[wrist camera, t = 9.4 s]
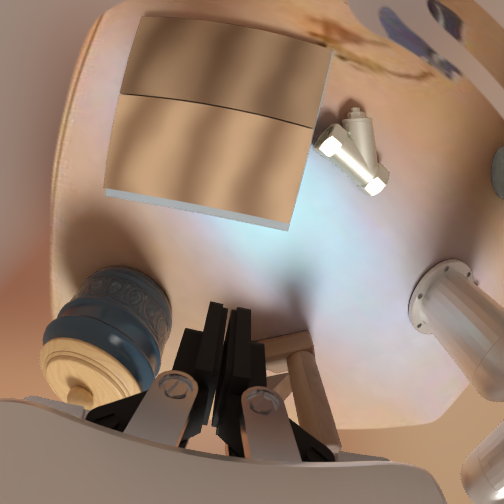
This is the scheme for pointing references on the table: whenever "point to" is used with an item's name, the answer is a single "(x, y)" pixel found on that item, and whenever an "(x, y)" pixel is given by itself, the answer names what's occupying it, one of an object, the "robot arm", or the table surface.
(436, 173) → the table surface
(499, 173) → the grey pot
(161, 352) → the canister
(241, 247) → the table surface
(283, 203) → the plank
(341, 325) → the table surface
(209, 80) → the floor board
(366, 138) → the pipe fitting
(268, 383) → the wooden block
